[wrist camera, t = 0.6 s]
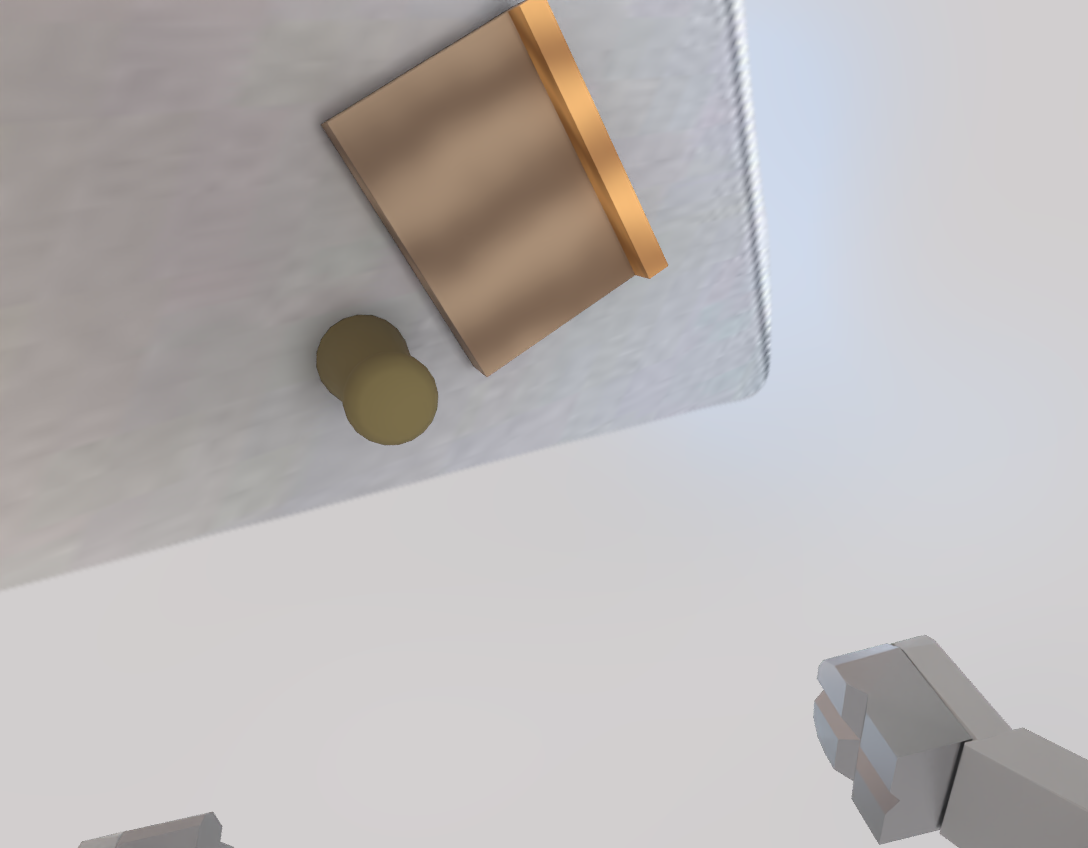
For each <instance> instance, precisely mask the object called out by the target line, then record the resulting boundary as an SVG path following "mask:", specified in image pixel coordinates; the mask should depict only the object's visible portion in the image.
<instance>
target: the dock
mask: <svg viewBox="0 0 1088 848" xmlns="http://www.w3.org/2000/svg"><path fill="white" fill-rule="evenodd" d="M321 126H322V127H323V129H324V130H325V132H326V134H327V135H328V137H329V138H330V140H331V141H332V143H333V145H334V146H335V148H336V149H337V151H338V152H339V154H340V156H341V157H342V159H343V160H344V162H345V164H346V165H347V167H348V168H349V170H350V171H351V173H352V175H353V176H354V178H355V179H356V181H357V183H358V184H359V186H360V187H361V189H362V190H363V192H364V194H365V195H366V197H367V198H368V200H369V202H370V203H371V205H372V206H373V208H374V209H375V211H376V213H377V214H378V216H379V217H380V219H381V220H382V222H383V224H384V225H385V227H386V228H387V230H388V232H389V233H390V235H391V236H392V238H393V239H394V241H395V243H396V244H397V246H398V247H399V249H400V251H401V252H402V254H403V255H404V257H405V258H406V260H407V262H408V263H409V265H410V266H411V268H412V270H413V271H414V273H415V274H416V276H417V277H418V279H419V281H420V282H421V284H422V285H423V287H424V288H425V290H426V292H427V293H428V295H429V296H430V298H431V300H432V301H433V303H434V304H435V306H436V307H437V309H438V311H439V312H440V314H441V315H442V317H443V319H444V320H445V322H446V323H447V325H448V326H449V328H450V330H451V331H452V333H453V334H454V336H455V338H456V339H457V341H458V342H459V344H460V345H461V347H462V349H463V350H464V352H465V353H466V355H467V356H468V358H469V360H470V361H471V363H472V364H473V366H474V367H475V368H476V369H477V370H479V371H480V372H481V373H482V374H483V375H485V376H486V377H488V376H490V375H491V374H492V373H494V372H495V371H497V370H498V369H500V368H501V367H503V366H504V365H505V364H507V363H508V362H510V361H511V360H513V359H514V358H516V357H517V356H519V355H520V354H521V353H523V352H524V351H526V350H527V349H529V348H530V347H532V346H533V345H534V344H536V343H537V342H539V341H540V340H542V339H543V338H545V337H546V336H547V335H549V334H550V333H552V332H553V331H555V330H556V329H558V328H559V327H560V326H562V325H563V324H565V323H566V322H568V321H569V320H571V319H572V318H574V317H575V316H576V315H578V314H579V313H581V312H582V311H584V310H585V309H587V308H588V307H589V306H591V305H592V304H594V303H595V302H597V301H598V300H600V299H601V298H602V297H604V296H605V295H607V294H608V293H610V292H611V291H613V290H614V289H616V288H617V287H618V286H620V285H621V284H623V283H624V282H626V281H627V280H629V279H630V278H631V277H633V276H634V275H638V276H641V277H645V278H648V279H650V278H651V277H653V276H654V275H656V274H657V273H659V272H660V271H662V270H663V269H664V268H666V267H667V266H668V263H667V261H666V259H665V257H664V255H663V253H662V250H661V248H660V246H659V244H658V242H657V239H656V237H655V235H654V233H653V231H652V229H651V226H650V224H649V222H648V220H647V218H646V215H645V213H644V211H643V209H642V207H641V205H640V202H639V200H638V198H637V196H636V194H635V191H634V189H633V187H632V185H631V183H630V181H629V178H628V176H627V174H626V172H625V170H624V167H623V165H622V163H621V161H620V159H619V157H618V154H617V152H616V150H615V148H614V146H613V143H612V141H611V139H610V137H609V135H608V133H607V130H606V128H605V126H604V124H603V122H602V119H601V117H600V115H599V113H598V111H597V109H596V106H595V104H594V102H593V100H592V98H591V95H590V93H589V91H588V89H587V87H586V85H585V82H584V80H583V78H582V76H581V74H580V71H579V69H578V67H577V65H576V63H575V61H574V58H573V56H572V54H571V52H570V50H569V47H568V45H567V43H566V41H565V39H564V37H563V34H562V32H561V30H560V28H559V26H558V23H557V21H556V19H555V17H554V15H553V13H552V10H551V8H550V6H549V4H548V2H547V0H525V1H523V2H521V3H519V4H517V5H515V6H513V7H511V8H510V9H508V10H507V11H505V12H503V13H502V14H500V15H498V16H497V17H495V18H493V19H492V20H490V21H489V22H487V23H485V24H484V25H482V26H480V27H479V28H477V29H476V30H474V31H472V32H471V33H469V34H467V35H466V36H464V37H463V38H461V39H459V40H458V41H456V42H454V43H453V44H451V45H449V46H448V47H446V48H445V49H443V50H441V51H440V52H438V53H436V54H435V55H433V56H432V57H430V58H428V59H427V60H425V61H423V62H422V63H420V64H419V65H417V66H415V67H414V68H412V69H410V70H409V71H407V72H405V73H404V74H402V75H401V76H399V77H397V78H396V79H394V80H392V81H391V82H389V83H388V84H386V85H384V86H383V87H381V88H379V89H378V90H376V91H375V92H373V93H371V94H370V95H368V96H366V97H365V98H363V99H361V100H360V101H358V102H357V103H355V104H353V105H352V106H350V107H348V108H347V109H345V110H344V111H342V112H340V113H339V114H337V115H335V116H334V117H332V118H331V119H329V120H327V121H326V122H324V123H322V124H321Z"/></svg>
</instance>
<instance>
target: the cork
mask: <svg viewBox="0 0 1088 848" xmlns="http://www.w3.org/2000/svg"><path fill="white" fill-rule="evenodd" d="M316 367H317V370H318V373H319V376H320V379H321V381H322V382H323V384H324V385H325V386H326V388H327V389H328V390H329V392H330V393H332V394H333V395H334V396H335V397H337V398H338V399H339V400H341V401H342V402H343V407H344V410H345V413H346V416H347V419H348V421H349V422H350V424H351V425H352V426H353V428H354V429H355V430H356V432H357V433H359V434H360V435H362V436H363V437H365V438H366V439H368V440H369V441H372V442H376V443H379V444H383V445H400V444H403V443H406V442H409V441H412V440H413V439H415V438H416V437H418V436H419V435H421V434H422V433H423V432H424V431H425V430H426V429H427V427H428V426H429V425H430V424H431V422H432V421H433V418H434V416H435V413H436V411H437V404H438V391H437V387H436V384H435V380H434V378H433V377H432V375H431V374H430V372H429V371H428V369H427V368H426V367H425V366H424V365H423V364H422V363H420V362H419V361H418V360H416V359H415V358H414V357H412V356H411V355H410V353H409V350H408V347H407V344H406V342H405V340H404V338H403V337H402V335H401V334H400V332H399V331H398V329H397V328H395V327H394V326H393V325H392V324H390V323H389V322H388V321H386V320H384V319H381V318H378V317H376V316H373V315H355V316H352V317H348V318H345V319H342V320H341V321H339V322H338V323H336V324H335V325H333V326H332V327H331V328H330V329H329V330H328V331H327V333H326V334H325V335H324V336H323V338H322V339H321V342H320V345H319V347H318V350H317V363H316Z"/></svg>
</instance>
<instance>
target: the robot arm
mask: <svg viewBox="0 0 1088 848" xmlns="http://www.w3.org/2000/svg"><path fill="white" fill-rule="evenodd" d="M817 679H818V681H819V683H820V684H821V686H822V688H823V689H824V690H823V691H822V692H821V694H820V695H819V696H818V697H817V698H816V700H815V702H814V716H813V718H814V722H815V727H816V731H817V736H818V739H819V741H820V743H821V746H822V748H823V750H824V753H825V754H826V756H827V758H828V760H829V761H830V763H831V765H832V767H833V768H834V769H835V770H836V771H838V772H840V773H841V774H843V775H844V776H846V777H848V778H849V779H851V780H853V790H852V800H853V802H854V804H855V805H856V807H857V809H858V810H859V812H860V814H861V815H862V817H863V819H864V820H865V822H866V824H867V825H868V827H869V829H870V830H871V832H872V833H873V835H874V837H875V839H876V840H877V842H878V843H879V844H884V843H888V842H892V841H896V840H900V839H904V838H909V837H912V836H916V835H921V834H924V833H928V832H933V831H937V830H940V834H941V835H942V836H944V837H945V838H946V839H948V840H949V841H951V842H952V843H953V844H955V845H956V846H957V847H959V848H1088V760H1087V759H1085V758H1082V757H1081V756H1078V755H1077V754H1075V753H1073V752H1071V751H1069V750H1067V749H1065V748H1063V747H1061V746H1059V745H1057V744H1055V743H1053V742H1051V741H1049V740H1047V739H1045V738H1043V737H1041V736H1039V735H1037V734H1035V733H1033V732H1031V731H1029V730H1027V729H1025V728H1019V729H1014V730H1012V729H1011V728H1010V726H1009V725H1008V724H1007V723H1006V722H1005V721H1004V719H1003V718H1002V717H1001V716H1000V715H999V714H998V713H997V711H996V710H995V709H994V708H993V707H992V706H991V704H990V703H989V702H988V701H987V700H986V699H985V698H984V696H983V695H982V694H981V693H980V692H979V691H978V690H977V688H976V687H975V686H974V685H973V684H972V683H971V681H970V680H969V679H968V678H967V677H966V676H965V674H964V673H963V672H962V671H961V670H960V669H959V668H958V666H957V665H956V664H955V663H954V662H953V661H952V660H951V658H950V657H949V656H948V655H947V654H946V653H945V651H944V650H943V649H942V648H941V647H940V646H939V645H938V643H937V642H936V641H935V640H934V639H932V638H930V637H928V636H926V635H924V636H918V637H914V638H910V639H907V640H903V641H899V642H895V643H892V644H883V645H879V646H875V647H872V648H867V649H864V650H860V651H856V652H852V653H848V654H845V655H841V656H838V657H833V658H830V659H826V660H823V661H822V663H821V664H820V665H819V668H818V675H817ZM221 832H222V825H221V824H220V822H219V820H218V819H217V818H216V816H215V815H214V812H209V813H205V814H200V815H196V816H191V817H187V818H182V819H178V820H174V821H169V822H165V823H161V824H156V825H151V826H147V827H143V828H139V829H134V830H129V831H124V832H120V833H116V834H111V835H107V836H103V837H99V838H96V839H91V840H87V841H82V842H81V844H80V845H79V847H78V848H234V847H232V846H230V845H227V844H225V843H222V842H220V839H221Z"/></svg>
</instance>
